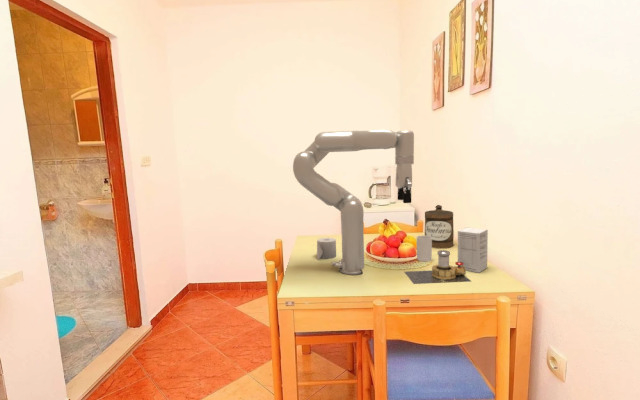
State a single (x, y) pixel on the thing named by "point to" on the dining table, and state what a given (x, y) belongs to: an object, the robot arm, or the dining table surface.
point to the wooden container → (439, 227)
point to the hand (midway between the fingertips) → (404, 201)
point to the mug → (424, 248)
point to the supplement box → (473, 249)
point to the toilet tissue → (326, 248)
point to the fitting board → (430, 279)
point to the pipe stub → (443, 260)
